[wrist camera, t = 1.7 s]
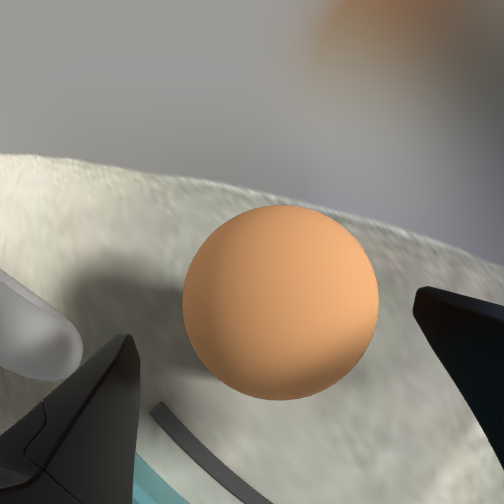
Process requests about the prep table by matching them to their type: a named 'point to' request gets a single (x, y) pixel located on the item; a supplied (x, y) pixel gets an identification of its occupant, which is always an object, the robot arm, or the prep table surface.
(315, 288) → the ball
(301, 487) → the prep table surface
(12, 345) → the donut
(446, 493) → the prep table surface
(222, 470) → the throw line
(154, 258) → the prep table surface
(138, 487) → the tray
